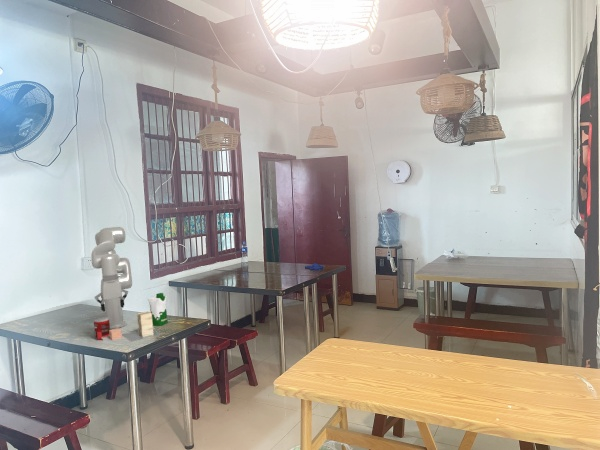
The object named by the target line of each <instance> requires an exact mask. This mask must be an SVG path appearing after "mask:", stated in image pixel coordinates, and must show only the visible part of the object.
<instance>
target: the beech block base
mask: <svg viewBox="0 0 600 450" xmlns="http://www.w3.org/2000/svg"><path fill="white" fill-rule="evenodd" d="M137 326H138V329H137V330H139V335H140V336H142V337H145V336H149V335H153V330H154V326H153V324H150V325H145V326H140V325H138V324H137Z"/></svg>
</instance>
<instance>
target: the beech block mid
mask: <svg viewBox="0 0 600 450" xmlns="http://www.w3.org/2000/svg"><path fill="white" fill-rule="evenodd" d="M136 317H137V326H138V325H140V326H145V325H150V324H153V323H152V313H150V311H144V312H143V311H142V312H138V313H137V314H136Z"/></svg>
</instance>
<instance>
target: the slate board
mask: <svg viewBox="0 0 600 450" xmlns="http://www.w3.org/2000/svg"><path fill="white" fill-rule="evenodd" d="M160 335H161V333H159V332H158V331H156V330H155V329H153V335H149V336H145V337H142V336H140V335H139V329H137V330H134V331H131V332H126V333H122V337H124V338H126V340H129V342H131V343H132V342H135V341H140V340H144V339H147V338H152V337H156V336H160Z"/></svg>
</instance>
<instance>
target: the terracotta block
mask: <svg viewBox="0 0 600 450" xmlns="http://www.w3.org/2000/svg"><path fill="white" fill-rule="evenodd" d="M109 334H110V335H109V339H110V340H112V341H114V340H118V339H119V340H120V339H123V335H122V334H123V333H122V329H121V328H115V329H110V330H109Z"/></svg>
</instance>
